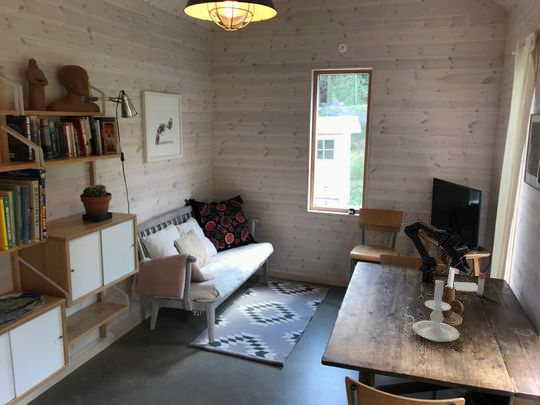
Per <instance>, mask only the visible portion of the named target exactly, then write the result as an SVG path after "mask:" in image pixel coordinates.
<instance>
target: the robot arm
mask: <svg viewBox="0 0 540 405" xmlns="http://www.w3.org/2000/svg"><path fill="white" fill-rule="evenodd" d="M420 230H421V231H423V232H425V233H427V234H429V235H431V236H432V239H434V240H436V241H439V242H437V248H440V247H441V248H442V249H443V251H444V252H445V253H446V256H447V257H449V258H450V266H451V268H454V269H456V270H458V271H461V272H463V273H465V274H467V273H468V270H469V269H471V267H470V265H469V263H468V260H467V254H469V252H470V249H469V247H468V246H467V245H465V244H463V245H461V247H460V248H458V247H456V246H457V245H459V244H461V243H462V242H463V238H462V236H461V235H460V234H459V233H457V231H455V232H452V233H449V232H448V231H447V230H444V229H440V228H436V227H434V226H431V225H429V224H427V223H425V222H424V221H423V220H422V221H416V222H414V223H412V224H409V225H406V226H405V227H404V229H403V232H404V233H405V235H406V236H407V237H408V238H409V239H410V240H411V241H412V243H413V245H414V246H415V248H416V250H417V252H418V255H420V258H421V266H420V267H418V269H419V272H421V275H420V278H419V279H420V280H421V282H422V283H434V273H433V271H435V272H436V270H437V269H436V268H437V263H438V261H437V260H436V258H435V256H431V255H430V254H429V252H428V251H427V249H426V247H425V245H424V243H423V241H422V239H421V238H420Z"/></svg>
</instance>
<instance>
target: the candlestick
mask: <svg viewBox="0 0 540 405" xmlns="http://www.w3.org/2000/svg"><path fill="white" fill-rule="evenodd" d="M444 286H445V281H444V280H440V279H437V280H435V282H434V293H433V294H434V296H433V299H431V300H426V301H425V302H424V305H425V306H426V307H427V308H429V309H431V310H432V312H431V313H430V314H429V318H430V320H420V321H417V322H416V319H415V317H414V316H413V315H408V314H406V313H404V314H403V316H405V317H404V323H406V325H407V327H408V329H409V330H413V331H414V333H416V334H417V335H419V336H420V337H422V338H424V339H425V340H427V341H432V342H435V343H447V342H452V341H456V340H457V339H459V338H460V332H459V331H458V329H457V328H455V327H454V326H452V325H449V324H447V323H445V322H443V321H444V315H443V313H442V312H443V311H449V310H451V308H452V306H451V305H450V304H449V303H447V302H444V301H442V299H443V297H444V289H445V288H444ZM408 318H411V319H412V320H413V321H412V322H408V320H407V319H408ZM411 326H412V327H411Z"/></svg>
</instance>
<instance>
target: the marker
mask: <svg viewBox="0 0 540 405" xmlns="http://www.w3.org/2000/svg"><path fill="white" fill-rule="evenodd" d="M485 280H486V273H484V272H478V278H477V285H478V288H477V292H476V296H478V297H483V296H484V293H483V292H484V289H485V288H484V287H485Z"/></svg>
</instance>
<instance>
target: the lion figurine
mask: <svg viewBox="0 0 540 405" xmlns="http://www.w3.org/2000/svg"><path fill="white" fill-rule="evenodd" d="M436 270H442V272H441V274H444V273H445V275H444V276H448V274H449V273H448V272H449V268H448V265H447V264H443V263H438V262H437V268H436ZM436 270H435V271H433V274H435V273H436Z"/></svg>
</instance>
